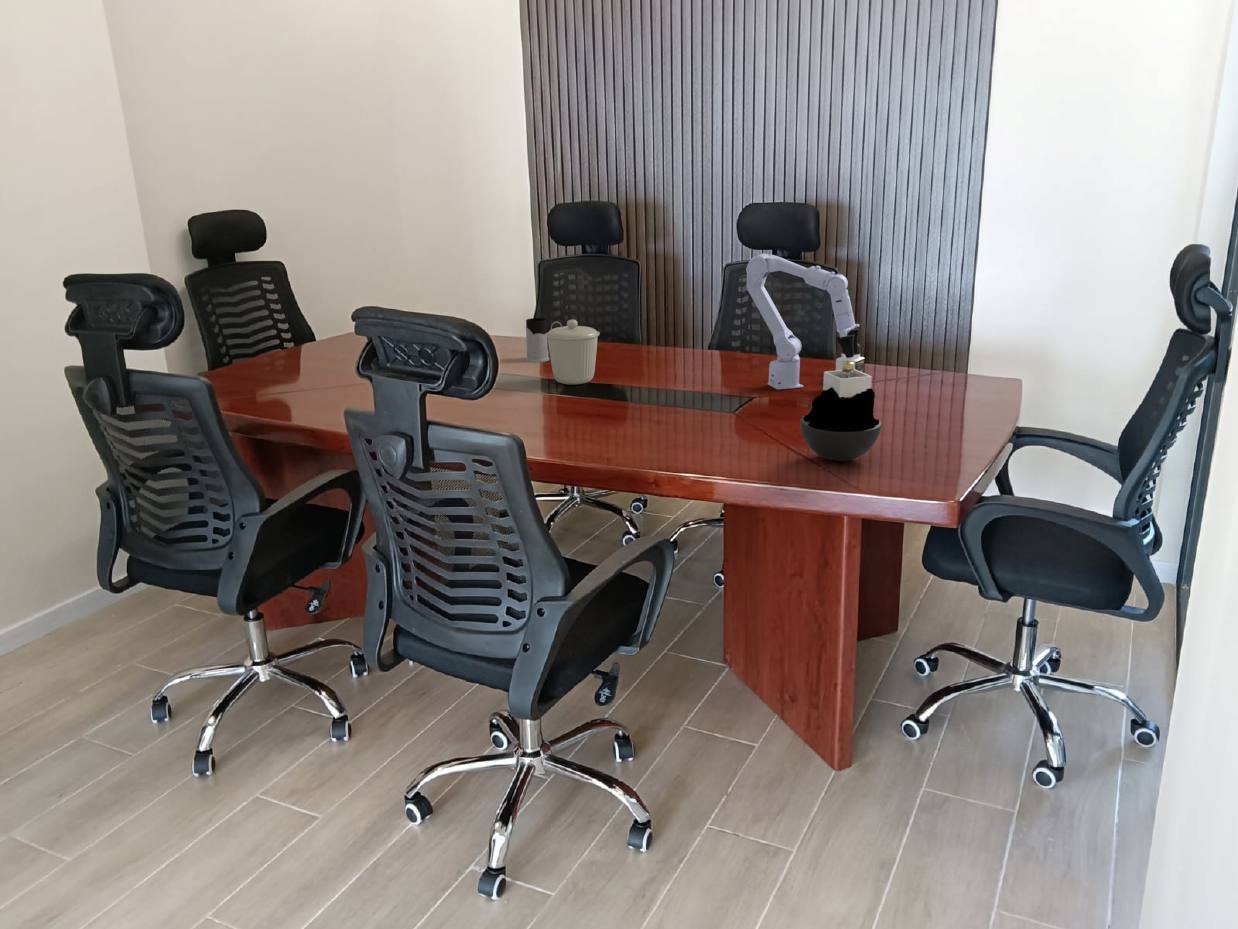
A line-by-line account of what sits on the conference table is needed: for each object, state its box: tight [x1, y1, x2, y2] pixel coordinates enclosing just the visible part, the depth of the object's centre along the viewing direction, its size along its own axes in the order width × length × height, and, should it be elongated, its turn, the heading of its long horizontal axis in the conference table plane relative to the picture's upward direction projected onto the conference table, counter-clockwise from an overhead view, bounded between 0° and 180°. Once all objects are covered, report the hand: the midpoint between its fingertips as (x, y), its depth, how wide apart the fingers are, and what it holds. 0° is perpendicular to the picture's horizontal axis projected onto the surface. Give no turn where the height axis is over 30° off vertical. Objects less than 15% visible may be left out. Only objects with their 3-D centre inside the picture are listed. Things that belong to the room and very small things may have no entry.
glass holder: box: [525, 317, 563, 363], centre depth 374 cm, size 9×14×15 cm, turn 107°
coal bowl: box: [799, 387, 882, 462], centre depth 252 cm, size 20×20×19 cm
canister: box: [545, 319, 601, 385], centre depth 338 cm, size 18×18×21 cm
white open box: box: [822, 369, 873, 398], centre depth 320 cm, size 11×11×6 cm
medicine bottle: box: [835, 343, 866, 373], centre depth 337 cm, size 7×7×12 cm
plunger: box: [834, 361, 860, 379], centre depth 319 cm, size 9×9×6 cm
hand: (852, 355), depth 319 cm, fingers open, 7 cm apart
